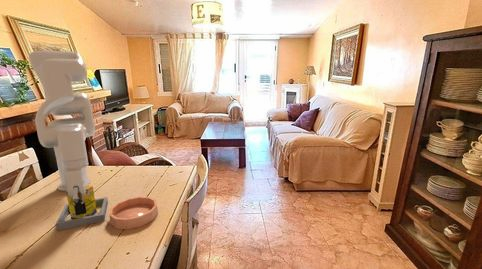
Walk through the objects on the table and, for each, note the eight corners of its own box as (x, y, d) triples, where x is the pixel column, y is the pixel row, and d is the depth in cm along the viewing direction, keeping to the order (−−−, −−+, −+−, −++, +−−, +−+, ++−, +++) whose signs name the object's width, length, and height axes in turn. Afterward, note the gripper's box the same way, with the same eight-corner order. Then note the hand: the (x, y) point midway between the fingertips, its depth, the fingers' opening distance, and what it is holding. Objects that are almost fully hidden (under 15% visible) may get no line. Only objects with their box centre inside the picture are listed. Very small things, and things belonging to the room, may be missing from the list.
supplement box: (85, 221, 88) (80, 192, 85) (70, 219, 89) (65, 191, 86) (97, 212, 93) (93, 185, 91) (83, 210, 94) (79, 184, 92)
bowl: (112, 210, 94) (111, 201, 94) (155, 201, 100) (154, 193, 100) (109, 233, 80) (107, 223, 80) (159, 221, 86) (158, 213, 86)
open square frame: (66, 210, 95) (65, 204, 94) (108, 202, 100) (107, 197, 99) (56, 230, 82) (55, 224, 82) (104, 220, 88) (103, 214, 87)
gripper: (68, 156, 93) (76, 199, 97) (55, 173, 77) (65, 223, 81) (91, 154, 95) (98, 195, 100) (83, 169, 80) (91, 217, 84)
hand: (83, 207), depth 90 cm, fingers closed on supplement box, 8 cm apart
